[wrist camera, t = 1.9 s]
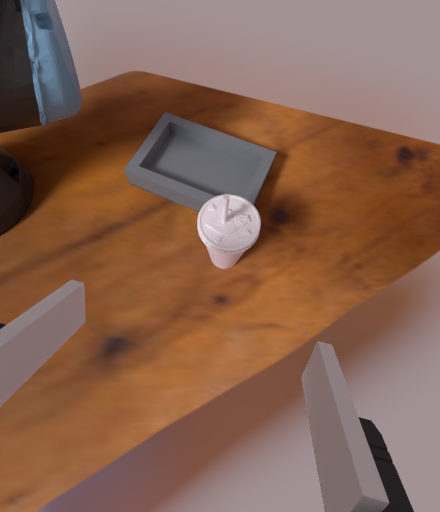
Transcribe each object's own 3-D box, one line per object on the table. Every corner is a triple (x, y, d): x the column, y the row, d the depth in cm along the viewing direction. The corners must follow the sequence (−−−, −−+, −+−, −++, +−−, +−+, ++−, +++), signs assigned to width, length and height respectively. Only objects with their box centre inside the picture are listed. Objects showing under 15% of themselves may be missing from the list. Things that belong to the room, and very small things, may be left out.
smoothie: (197, 237, 35) (189, 168, 22) (243, 231, 36) (261, 160, 23) (204, 282, 33) (199, 235, 20) (252, 274, 34) (279, 224, 21)
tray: (130, 183, 38) (123, 170, 35) (168, 127, 42) (165, 111, 39) (243, 229, 36) (246, 219, 33) (271, 166, 40) (276, 152, 37)
